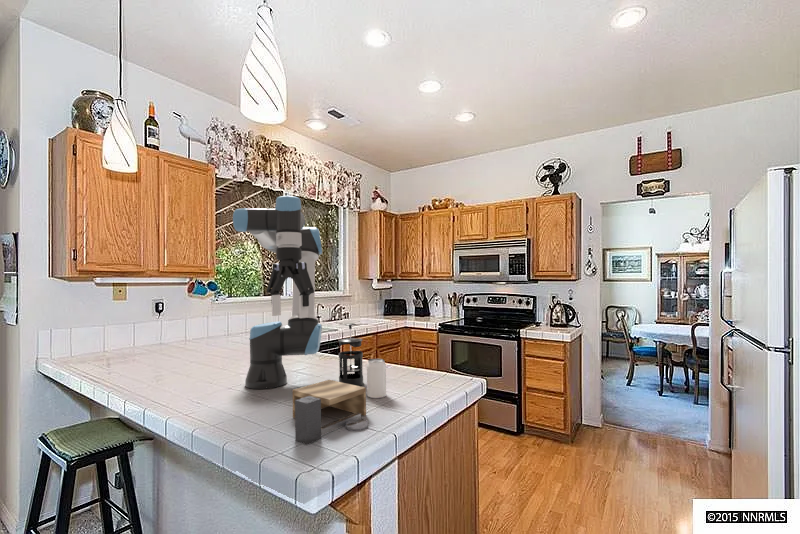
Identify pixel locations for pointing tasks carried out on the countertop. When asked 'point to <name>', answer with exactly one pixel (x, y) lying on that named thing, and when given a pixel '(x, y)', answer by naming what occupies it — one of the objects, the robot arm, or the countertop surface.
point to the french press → (354, 377)
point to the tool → (314, 420)
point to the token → (356, 424)
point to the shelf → (334, 395)
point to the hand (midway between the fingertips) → (289, 316)
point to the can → (376, 378)
